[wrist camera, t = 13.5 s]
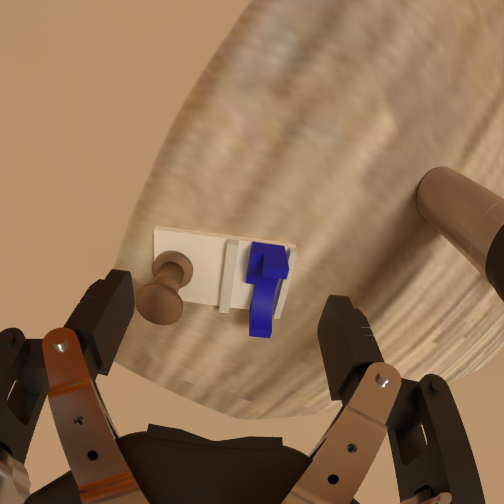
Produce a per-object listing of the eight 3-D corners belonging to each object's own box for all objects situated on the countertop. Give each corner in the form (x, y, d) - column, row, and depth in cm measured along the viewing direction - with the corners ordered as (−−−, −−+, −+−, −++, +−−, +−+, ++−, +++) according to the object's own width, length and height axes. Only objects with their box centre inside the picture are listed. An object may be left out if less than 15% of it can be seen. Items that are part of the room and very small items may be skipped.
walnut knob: (194, 253, 41) (181, 292, 33) (192, 287, 44) (181, 328, 36) (153, 248, 41) (133, 284, 33) (154, 281, 44) (137, 321, 36)
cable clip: (252, 241, 40) (252, 264, 35) (284, 245, 41) (289, 269, 35) (240, 307, 46) (238, 334, 41) (268, 311, 46) (269, 338, 41)
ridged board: (295, 243, 42) (297, 253, 39) (278, 308, 48) (279, 319, 45) (156, 225, 40) (150, 234, 38) (157, 292, 46) (153, 302, 44)
